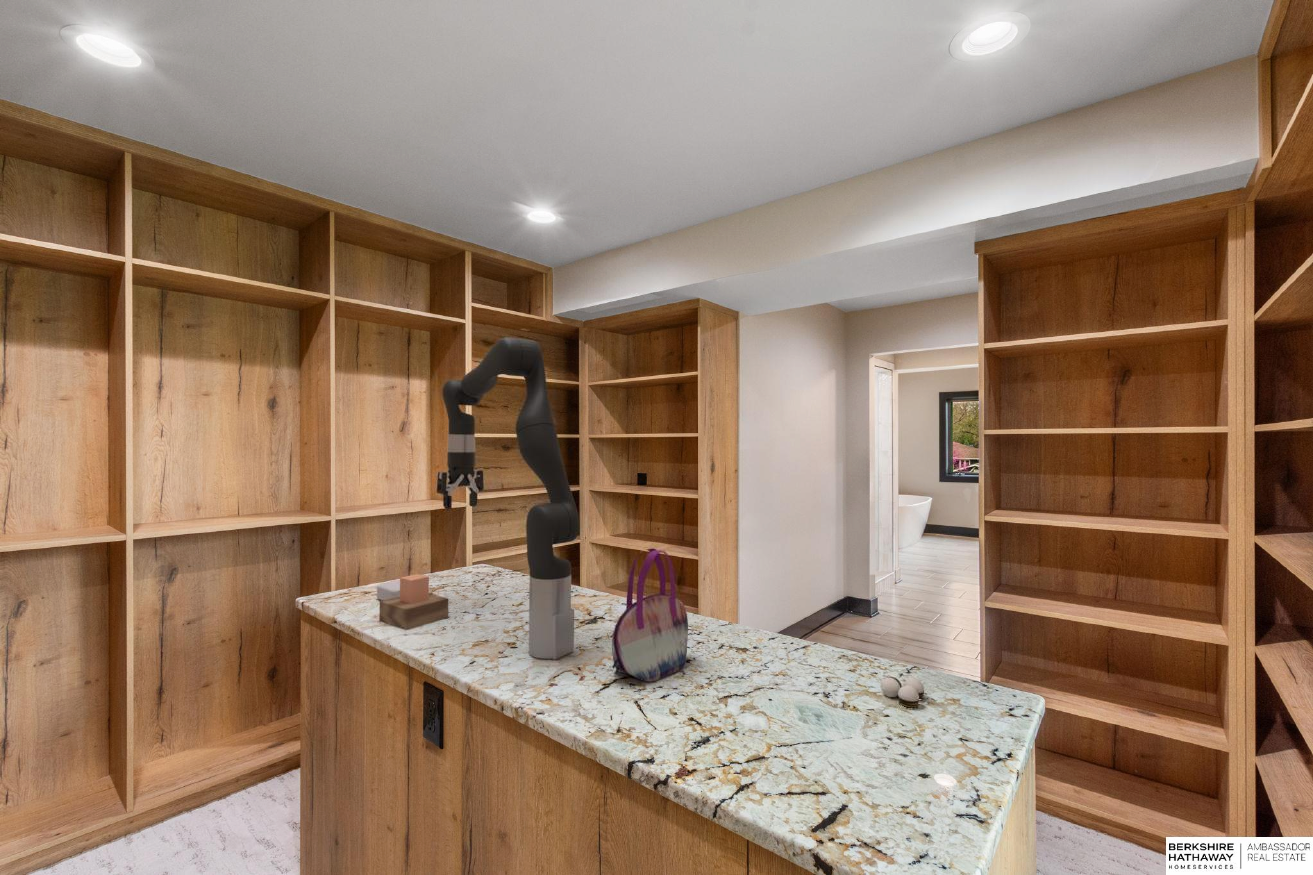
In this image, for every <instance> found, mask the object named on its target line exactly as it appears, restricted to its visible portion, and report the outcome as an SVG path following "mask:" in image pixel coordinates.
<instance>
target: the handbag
mask: <svg viewBox="0 0 1313 875" xmlns="http://www.w3.org/2000/svg"><path fill="white" fill-rule="evenodd" d="M643 551H648V552H649V553H648V554H647V555H646V557H645V559H644V561H643V563H642V566H641V570H640V572H639V574H638V579H637V584H636V601H635V602H633V592H634V578H635V569H636V565H637V564H636V563H637V558H638V557H639V554H637V555H636V556H635V558H634V561H633V562H632V566H631V569H630V571H629V578H628V582H627V583H628V584H627V593H626V594H627V595H626V604H625V606H626V609H625V610H624V612H622V613H621V615H620V616H619V617H618V620H617V622H615V625H614V630H613V631H612V632H613V633H612V638H611V651H612V652H611V653H612V661H613V664H612V666H611V668H610V671H613V670H614V669H615V671H614V674H613V675H612V676H613V678H615V675H617V674H618V673H619V672H621V673H624V674H627V675H630V676H632V677H634V678H637V679H639V680H641V681H644V682H655V681H658V680H661V679H662V678H665V677H668V676H670V675H673V674H674V673H676V672H679V671H681V670H683V669H684V668H685V666H686V663H687V657H688V655H687V654H688V640H689V639H688V638H689V637H688V636H689V620H688V614H687V613H688V612H687V608H686V606H685V605H684V603H683V602H682V601H681V600H679V598H677V596H676V595H677V594H676V582H675V580H676V578H675V573H674V572H675V571H674V567H673V564H672V561H671V558H670V556H669V554H668V553H667V552H666V551H665V550H662V549H661V550H660V549H656V548H654V547H653V548H646V549H643V550H640V553H642V552H643ZM660 553H663V554H664V555H665V557H666V558H667V563H668V569H669V570H668V571H669V584H670V587H669V588H670V592H669V594H666V587H667V586H666V585H667V583H666V582H667V579H666V577H667V576H666V569H665V565H664V562H663V559H662V556H661V554H660ZM653 561H654V563H655V565H656V569H657V571H658V572H657V573H658V580H659V593H657V594H651V595H648V596H644V588H645V583H646V578H647V577H648V573H649V572H650V570H651V567H652V565H653ZM612 668H613V669H612Z"/></svg>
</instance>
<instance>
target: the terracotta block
mask: <svg viewBox="0 0 1313 875" xmlns="http://www.w3.org/2000/svg"><path fill="white" fill-rule="evenodd" d="M429 578H430V577H429V576H427V575H423V574H418V573H416V574H412V575H407V576H402V577H400V578H399V580H400V601H403V602H406V603H410V604H413V603H417V602H420V601H424V600H428V599H429V594H430V592H429V590H430V589H429V585H430V584H429V582H430V579H429Z"/></svg>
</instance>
